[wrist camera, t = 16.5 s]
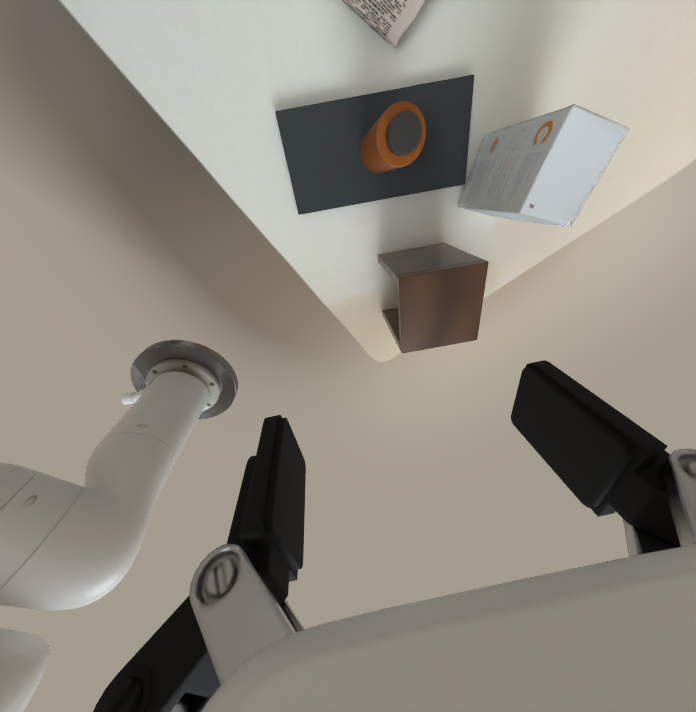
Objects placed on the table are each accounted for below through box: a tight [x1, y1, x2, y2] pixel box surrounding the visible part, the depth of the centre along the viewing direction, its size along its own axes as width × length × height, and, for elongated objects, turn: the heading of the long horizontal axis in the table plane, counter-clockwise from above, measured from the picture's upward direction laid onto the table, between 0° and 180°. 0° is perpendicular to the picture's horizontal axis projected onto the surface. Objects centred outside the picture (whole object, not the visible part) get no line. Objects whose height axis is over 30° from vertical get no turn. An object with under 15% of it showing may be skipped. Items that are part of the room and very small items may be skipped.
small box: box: [459, 104, 629, 227], centre depth 29 cm, size 8×6×13 cm
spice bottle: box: [361, 101, 426, 173], centre depth 26 cm, size 4×4×11 cm
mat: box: [276, 75, 474, 215], centre depth 31 cm, size 22×10×1 cm, turn 99°
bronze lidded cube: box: [378, 243, 488, 353], centre depth 36 cm, size 10×10×12 cm
